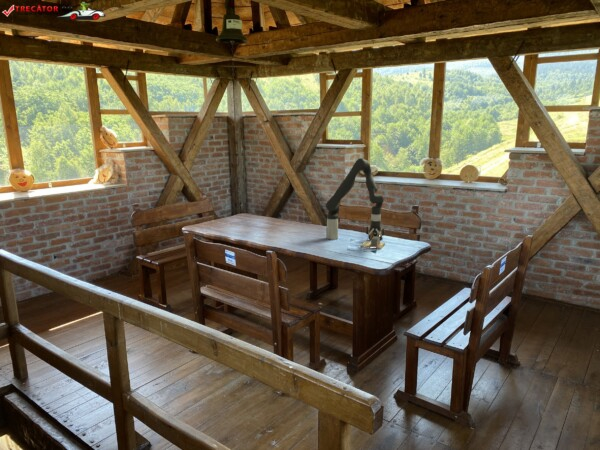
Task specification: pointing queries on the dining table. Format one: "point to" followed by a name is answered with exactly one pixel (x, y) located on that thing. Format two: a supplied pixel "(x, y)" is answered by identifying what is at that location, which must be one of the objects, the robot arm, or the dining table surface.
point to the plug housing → (375, 241)
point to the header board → (368, 244)
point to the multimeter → (373, 233)
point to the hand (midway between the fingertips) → (375, 240)
